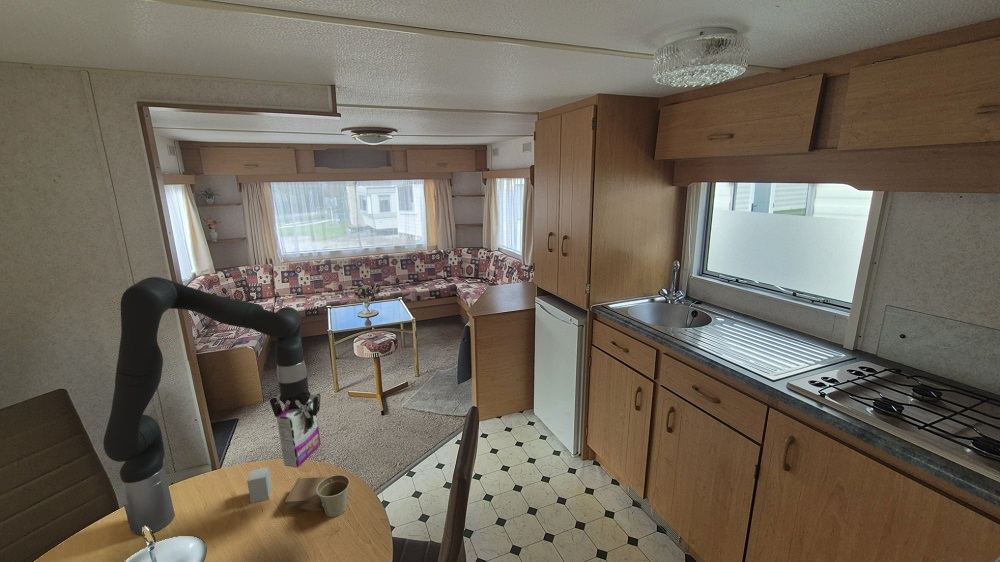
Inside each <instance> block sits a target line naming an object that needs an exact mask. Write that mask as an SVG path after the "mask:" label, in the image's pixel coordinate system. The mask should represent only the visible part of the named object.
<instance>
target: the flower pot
mask: <svg viewBox="0 0 1000 562" xmlns="http://www.w3.org/2000/svg"><path fill="white" fill-rule="evenodd" d="M326 477H327V478H325V479H324V480H322V481H321V482H320V483H319V484H318V486H317V488H316V493H317V495H318V496H319V497H320V498H321V501H322V504H323V506H322V508H323V509H324V512H325V515H326V516H328V517H331V518H336V517H338V516H341V515H342V514H343V513H344V512H345V511H346V510H347V508H348V492H349V491H348V490H349V486H350V484H351V479H350V478H349V476H347V475H345V474H334V475H330V476H326Z"/></svg>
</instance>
